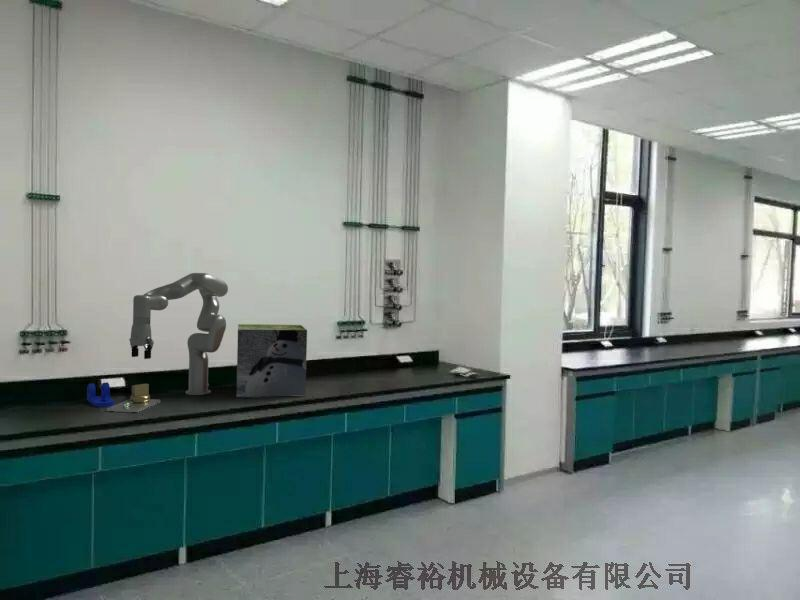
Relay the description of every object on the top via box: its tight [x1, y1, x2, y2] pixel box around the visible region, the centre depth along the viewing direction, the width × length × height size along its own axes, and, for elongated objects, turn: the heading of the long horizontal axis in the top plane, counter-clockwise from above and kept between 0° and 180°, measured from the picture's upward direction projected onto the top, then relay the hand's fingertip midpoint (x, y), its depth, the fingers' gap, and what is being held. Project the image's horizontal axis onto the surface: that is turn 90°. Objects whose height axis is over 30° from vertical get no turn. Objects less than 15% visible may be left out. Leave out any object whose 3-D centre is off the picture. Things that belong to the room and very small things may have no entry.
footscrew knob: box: [126, 383, 151, 403], centre depth 279 cm, size 10×8×8 cm
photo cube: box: [236, 323, 308, 398], centre depth 323 cm, size 35×35×35 cm
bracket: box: [86, 382, 115, 408], centre depth 279 cm, size 18×8×9 cm, turn 41°
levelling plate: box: [106, 398, 161, 413], centre depth 274 cm, size 22×14×3 cm, turn 177°
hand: (141, 357), depth 278 cm, fingers open, 9 cm apart
